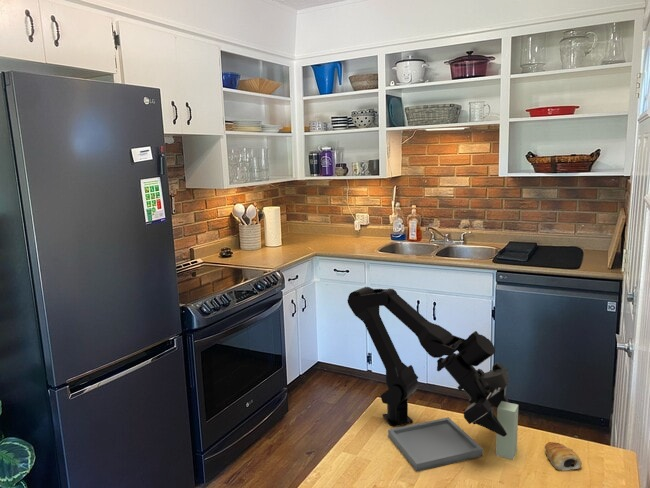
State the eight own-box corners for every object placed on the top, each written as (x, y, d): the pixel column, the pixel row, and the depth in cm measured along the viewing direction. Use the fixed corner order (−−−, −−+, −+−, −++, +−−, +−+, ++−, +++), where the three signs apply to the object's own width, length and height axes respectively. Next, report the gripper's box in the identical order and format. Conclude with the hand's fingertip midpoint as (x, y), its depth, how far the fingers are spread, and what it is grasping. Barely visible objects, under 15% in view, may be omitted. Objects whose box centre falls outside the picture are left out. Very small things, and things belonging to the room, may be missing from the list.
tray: (388, 436, 132) (388, 429, 132) (448, 423, 138) (448, 417, 137) (416, 471, 117) (416, 464, 117) (483, 456, 123) (483, 448, 122)
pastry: (537, 449, 125) (537, 435, 124) (563, 448, 125) (564, 434, 125) (557, 473, 116) (558, 458, 115) (585, 471, 116) (586, 456, 115)
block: (496, 455, 123) (497, 407, 121) (500, 447, 126) (501, 400, 124) (513, 460, 121) (514, 412, 118) (516, 451, 124) (518, 404, 122)
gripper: (477, 371, 114) (527, 428, 110) (498, 344, 129) (543, 394, 125) (444, 396, 120) (490, 451, 116) (468, 367, 135) (509, 415, 131)
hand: (510, 426), depth 122 cm, fingers open, 9 cm apart
